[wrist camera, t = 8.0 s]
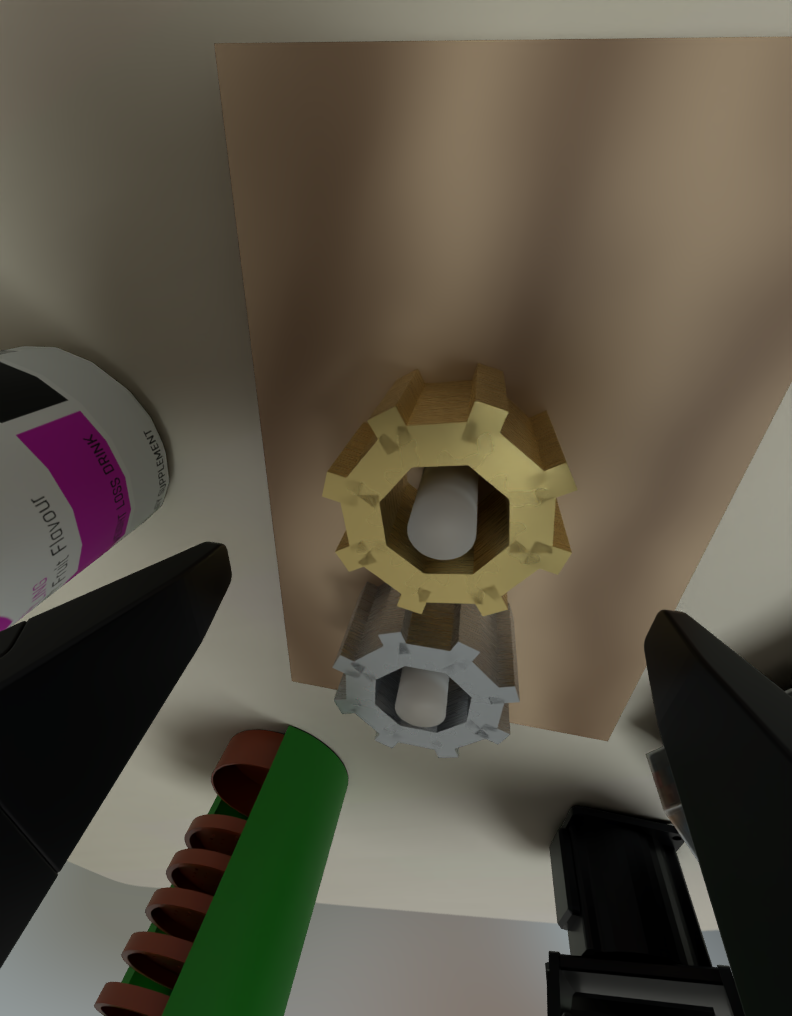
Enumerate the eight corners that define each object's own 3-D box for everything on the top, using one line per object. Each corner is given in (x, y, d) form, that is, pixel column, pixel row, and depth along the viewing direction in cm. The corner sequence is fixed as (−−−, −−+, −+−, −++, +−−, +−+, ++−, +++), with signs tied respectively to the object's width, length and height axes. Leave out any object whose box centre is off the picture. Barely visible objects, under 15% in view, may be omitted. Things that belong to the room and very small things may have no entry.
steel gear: (524, 573, 17) (534, 654, 13) (497, 683, 20) (499, 770, 17) (360, 549, 18) (329, 619, 14) (359, 658, 21) (335, 736, 18)
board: (902, 64, 10) (1345, -137, 5) (600, 711, 22) (633, 847, 17) (245, 67, 12) (65, -73, 7) (302, 657, 24) (253, 764, 19)
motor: (243, 704, 28) (-137, 1412, 11) (369, 758, 28) (195, 1513, 11) (216, 773, 33) (-66, 1317, 16) (323, 817, 34) (157, 1389, 17)
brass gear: (559, 355, 13) (586, 392, 9) (549, 541, 16) (565, 619, 12) (346, 374, 14) (302, 412, 11) (376, 541, 17) (348, 611, 14)
